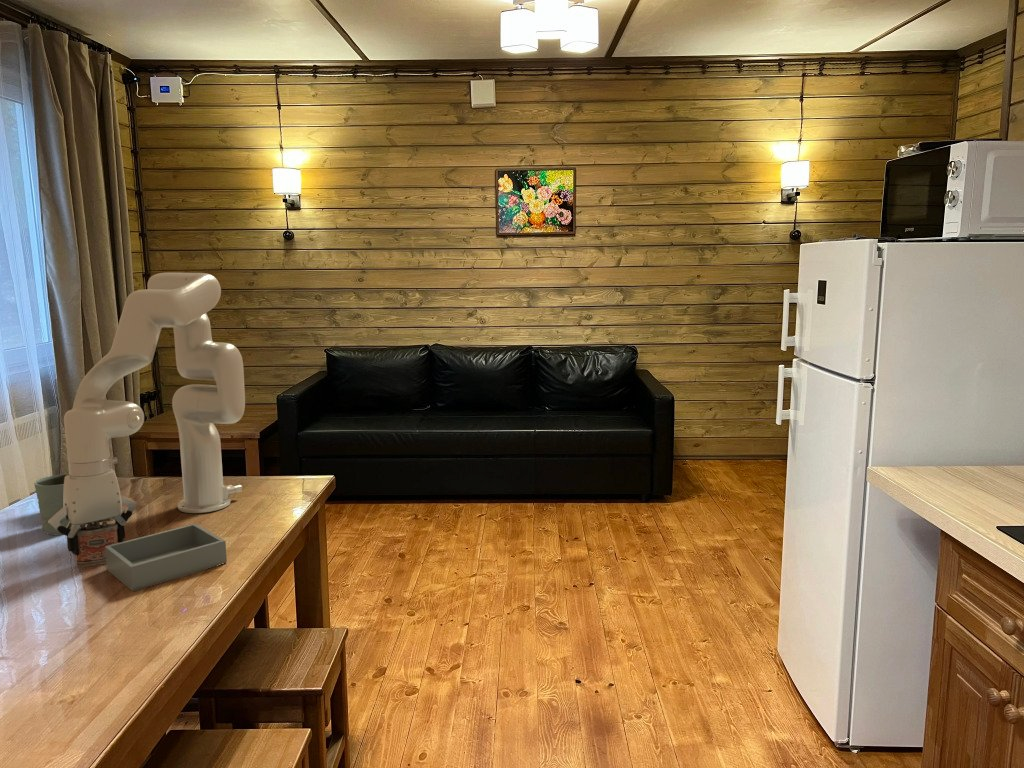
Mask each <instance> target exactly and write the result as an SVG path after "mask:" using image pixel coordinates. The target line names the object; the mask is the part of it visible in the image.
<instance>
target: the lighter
mask: <svg viewBox="0 0 1024 768" xmlns="http://www.w3.org/2000/svg"><path fill="white" fill-rule="evenodd" d="M113 521H114V519H113V518H109V519H104V520H100V521H96V522H91V523H87V524H82V525H80V527H81V528H78V530H77V532H76V534H75V535H76V536H77V537H78V544H79V555H77V556H76V559H77V560H76V566H77V567H80V566H81V567H88V566H87V565H91V566H97V565H96V564H98V565H102V564H101V563H104V564H106V556H105V546H108V545H112V544H116V543H118V536H117V528H118V525H117V524H115V522H113ZM108 522H113V523H108ZM101 523H102V524H101Z"/></svg>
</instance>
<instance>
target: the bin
mask: <svg viewBox="0 0 1024 768" xmlns="http://www.w3.org/2000/svg"><path fill="white" fill-rule="evenodd" d="M105 556H106V563H105V565H106V570H107V571H108V572H109V573H110V574H112V575H113V576H114V577H115V578H117V579H118V580H119V581H120V582H121V583H122V584H123V585H125V586H126V587H127V588H128V589H130V590H131V591H132V592H137V591H139V590H143V588H144V589H147V588H150V587H153V586H152V585H154V586H156V585H155V584H157V585H159V584H158V583H160V584H163V583H162V582H164V583H166V582H165V581H167V582H170V581H172V580H176V579H180V578H183V577H186V575H187V576H190V575H193V574H196V572H197V573H199V571H200V572H202V571H206V570H205V569H207V570H209V569H208V568H210V569H212V568H211V567H213V568H215V567H214V566H217V565H219V564H222V563H226V562H227V563H228V561H227V560H228V559H227V558H228V557H227V547H226V540H225V539H223V538H222V537H219V536H218V535H217V534H214V533H213V532H211V531H210V530H208V529H205V528H204V527H202V525H199V524H198V523H192V524H189V525H185V526H180V527H175V528H172V529H167V530H164V531H160V532H156V533H153V534H148V535H144V536H141V537H137V538H133V539H129V540H126V541H125V540H123V542H120V543H116V544H112V545H108V546H105ZM217 567H218V566H217ZM149 586H150V587H149ZM146 587H147V588H146ZM136 590H137V591H136Z"/></svg>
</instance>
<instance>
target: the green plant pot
mask: <svg viewBox="0 0 1024 768" xmlns="http://www.w3.org/2000/svg"><path fill="white" fill-rule="evenodd" d="M67 475H69V473H64V474H56V475H50V476H49V475H48V476H45V477H42V478H40V479H37V480H35V481H34V483H33V484H34V489H35V493H36V497H37V500H38V501H37V504H38V508H39V509H38V510H39V515H40V519H41V527H42V532H43V533H44V532H45V533H44V534H46V533H48V534H47V535H49V534H60V535H63V534H62V533H60V532H59V531H58V530H56V529H55V528H54V527H53V526H52V525H51V524H49V523H48V520H49V519H50V518H51V517H53V516H54V515H55V514H56V513H57V512H58V511H60V510H61V509H62V508H63V489H64V479H65V476H67ZM59 523H60V524H61V525H62V526H64V527H67V525H68V523H69V521H67V520H66V519H65V518H62V519H61V520H60V522H59ZM79 528H81V527H80V526H79Z"/></svg>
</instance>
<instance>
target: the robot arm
mask: <svg viewBox="0 0 1024 768" xmlns="http://www.w3.org/2000/svg"><path fill="white" fill-rule="evenodd" d="M221 294H222V287H221V285H220V282H219V281H218V279H217V278H216V277H215V276H214V275H212V274H210V273H205V272H160V273H156V274H153V275H151V276H150V277H149V279H148V281H147V289H139V290H135V291H132V292H131V293H130V294H129V295H127V297H126V298H125V302H124V305H123V308H122V312H121V315H120V318H119V321H118V324H117V327H116V331H115V334H114V338H113V341H112V345H111V348H110V350H109V351H108V352H107V354H105V355H104V356H103V357H102V358H101V359H100V360H98V362H97V363H96V364H95V365H93V367H91V369H89V371H88V372H87V373H86V374H85V375H84V377H83V378H82V380H81V381H80V383H79V385H78V388H77V391H76V394H75V396H74V397H75V398H74V399H73V404H72V405H73V406H72V408H71V409H69V410H68V411H66V412H65V414H64V416H63V424H64V434H65V435H64V436H65V443H66V444H65V445H66V453H67V454H66V455H67V456H66V457H67V464H68V465H67V466H68V474H69V475H67V476H65V479H64V489H63V508H62V509H61V510H60V511H58V512H57V513H56V514H55V515H54V516H53V517H51V518H50V519H49V520H48V523H49V524H51V525H52V526H53V527H54V528H55V529H56V530H58V531H59V532H60V533H62V534H61V535H65V537H66V542H67V550H68V552H70V553H71V554H72V555H74V556H75V557H77V555H79V544H78V537H77V536H76V535H75V534H76V532H77V530H78V528H79V526H80V525H82V524H86V525H88V524H87V523H91V522H96V521H100V520H104V519H109V518H113V521H114V523H115V524H117V525H118V528H117V536H118V543H120V542H124V539H126V533H125V525H127V522H128V520H129V519H130V517H131V516H132V515H133V512H134V511H135V509H136V507H137V506H138V502H136V501H134V500H133V499H130V498H127V497H125V496H123V495H121V489H120V485H119V481H118V478H117V474H116V471H115V470H114V469H113V465H116V464H118V463H119V460H118V457H117V456H116V457H113V456H111V455H110V445H109V444H110V443H109V440H110V439H114V438H121V437H128V436H132V435H133V434H135V433H137V432H138V431H139V430H140V429H141V428H142V426H143V424H144V422H145V413H144V411H143V408H141V407H140V405H138V404H136V403H135V402H131V401H125V400H113V399H106V395H107V393H108V392H109V390H110V389H111V388H112V387H113V385H115V383H117V381H119V380H120V379H122V378H124V377H125V376H127V375H129V374H132V373H134V372H136V371H138V370H141V369H142V368H143V369H144V367H147V366H149V365H150V364H151V363H152V362H153V360H154V356H155V352H156V348H157V346H158V342H159V338H160V334H161V331H162V328H173V337H174V350H175V351H174V352H175V363H176V369H177V373H178V374H179V375H180V377H182V378H185V379H187V380H197V381H199V380H200V381H215V384H216V385H214V384H213V385H212V384H200V383H199V384H198V383H197V384H196V383H195V384H194V383H193V384H186V385H183V386H181V387H180V388H178V389H177V390H176V391H175V392H174V394H173V396H172V401H171V403H172V404H171V406H172V411H173V414H174V417H175V420H176V421H175V422H176V426H177V429H178V430H177V431H178V437H179V438H178V439H179V447H180V450H179V452H180V464H181V473H182V474H181V476H182V477H181V478H182V491H183V499H182V500H180V501H179V502H178V503H177V509H178V510H179V511H180V512H183V513H187V514H203V513H210V512H214V511H215V512H217V511H219V510H222V509H224V508H227V507H229V505H230V504H231V495H232V494H237V493H242V491H243V486H242V485H241V484H236V485H232V484H228V485H226V484H224V477H223V475H224V474H223V462H222V446H221V445H222V444H221V436H220V433H219V431H218V429H217V427H216V425H215V424H217V425H218V424H220V425H222V424H223V425H231V424H232V425H233V424H236V423H237V422H239V421H240V420H241V419H242V418H243V416H244V413H245V410H246V409H245V408H246V407H245V406H246V391H245V390H246V389H245V373H244V372H245V371H244V362H243V356H242V354H241V352H240V350H239V349H238V348H237V347H236V346H235V345H234V344H233V343H230V342H218V341H217V342H216V341H213V338H212V330H211V329H212V327H211V322H210V318H209V317H208V314H207V313H208V312H210V311H212V309H214V308H215V306H216V305H217V304H218V302H219V301H220V298H221ZM123 504H124V505H126V507H125V509H124V510H123ZM62 518H65V519H66V520H67V521H69V523H68V525H67V527H64V526H62V525H61V524H60V523H59V522H60V520H61V519H62Z"/></svg>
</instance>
